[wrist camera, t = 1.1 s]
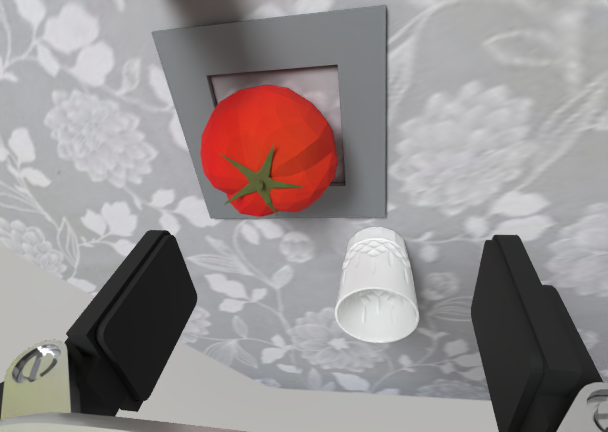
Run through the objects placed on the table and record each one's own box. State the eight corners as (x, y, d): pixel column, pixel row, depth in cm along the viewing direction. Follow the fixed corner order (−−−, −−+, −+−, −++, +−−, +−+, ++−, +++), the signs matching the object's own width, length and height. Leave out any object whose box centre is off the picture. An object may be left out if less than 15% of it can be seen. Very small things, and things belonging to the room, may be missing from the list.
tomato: (212, 156, 41) (170, 212, 32) (237, 49, 34) (192, 85, 26) (317, 197, 42) (302, 261, 33) (361, 101, 35) (356, 152, 26)
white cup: (426, 251, 43) (437, 321, 35) (374, 283, 48) (374, 352, 40) (378, 209, 41) (378, 274, 33) (328, 246, 45) (318, 312, 37)
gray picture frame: (385, 4, 30) (385, 6, 30) (385, 213, 41) (385, 217, 41) (154, 31, 34) (151, 32, 33) (212, 215, 45) (210, 218, 45)
